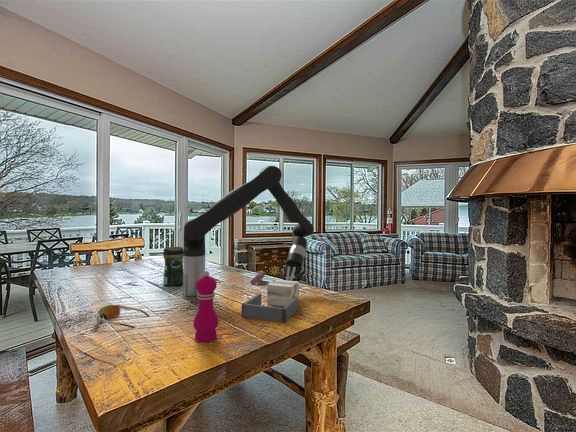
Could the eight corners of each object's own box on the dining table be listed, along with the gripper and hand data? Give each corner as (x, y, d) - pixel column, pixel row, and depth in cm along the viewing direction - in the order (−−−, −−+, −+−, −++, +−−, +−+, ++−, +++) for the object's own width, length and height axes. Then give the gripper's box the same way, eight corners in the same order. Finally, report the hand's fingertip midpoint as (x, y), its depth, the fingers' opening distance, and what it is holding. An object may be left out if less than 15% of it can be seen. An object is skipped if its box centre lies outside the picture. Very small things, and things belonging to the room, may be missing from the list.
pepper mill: (196, 333, 100) (196, 268, 99) (219, 332, 100) (220, 268, 100) (190, 343, 92) (191, 273, 92) (216, 342, 93) (217, 273, 92)
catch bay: (285, 322, 110) (285, 309, 110) (241, 316, 115) (241, 304, 115) (297, 309, 124) (298, 297, 124) (258, 304, 129) (258, 293, 129)
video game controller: (257, 287, 162) (263, 275, 161) (249, 283, 162) (255, 271, 162) (262, 283, 171) (268, 271, 171) (254, 278, 172) (260, 267, 171)
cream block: (290, 307, 126) (290, 287, 126) (267, 304, 130) (267, 284, 130) (298, 300, 136) (299, 281, 136) (276, 297, 139) (277, 279, 139)
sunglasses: (111, 314, 117) (113, 300, 116) (152, 320, 116) (154, 307, 116) (85, 329, 102) (87, 313, 102) (132, 337, 102) (134, 321, 102)
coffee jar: (180, 281, 167) (180, 245, 166) (186, 284, 160) (186, 247, 160) (161, 283, 161) (161, 246, 160) (166, 287, 155) (166, 248, 154)
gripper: (280, 251, 149) (270, 283, 138) (308, 252, 145) (300, 286, 133) (284, 260, 154) (275, 292, 143) (311, 262, 150) (303, 295, 139)
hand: (287, 289), depth 138 cm, fingers closed
